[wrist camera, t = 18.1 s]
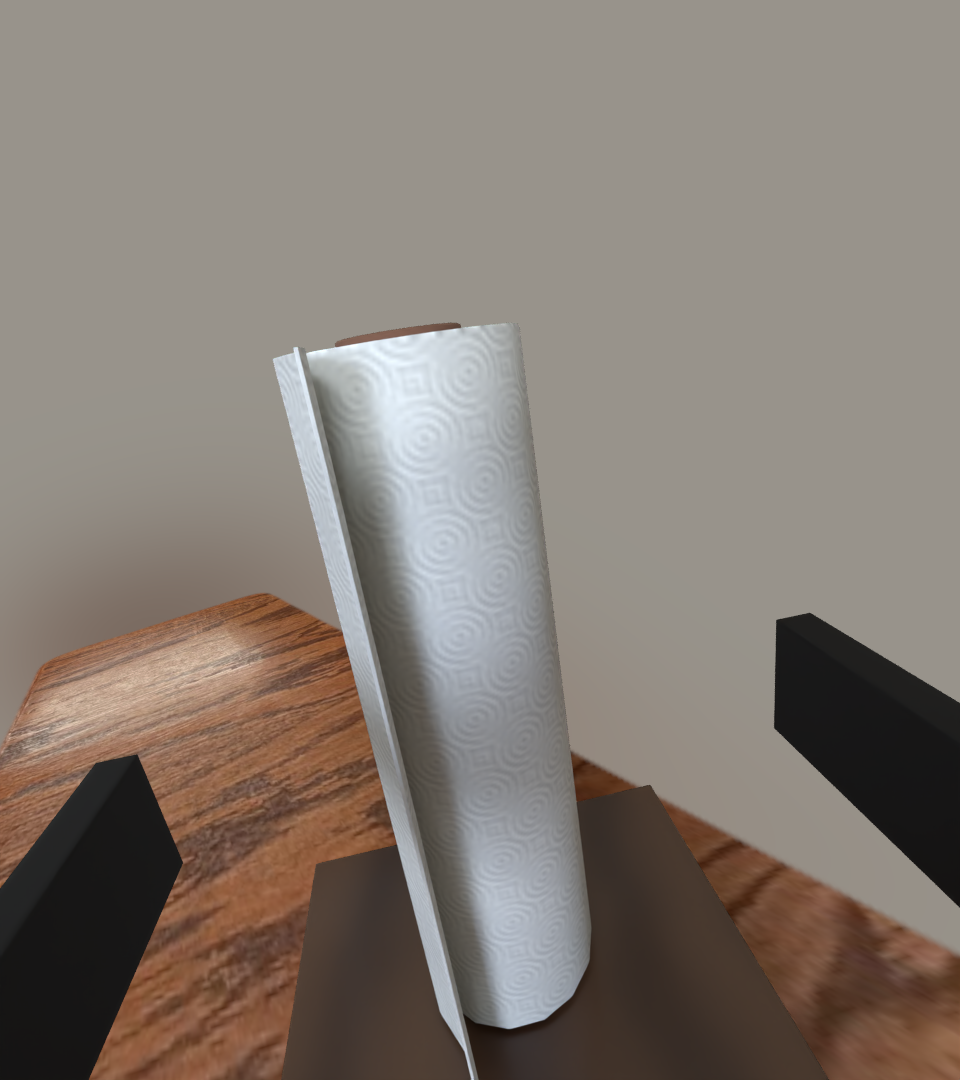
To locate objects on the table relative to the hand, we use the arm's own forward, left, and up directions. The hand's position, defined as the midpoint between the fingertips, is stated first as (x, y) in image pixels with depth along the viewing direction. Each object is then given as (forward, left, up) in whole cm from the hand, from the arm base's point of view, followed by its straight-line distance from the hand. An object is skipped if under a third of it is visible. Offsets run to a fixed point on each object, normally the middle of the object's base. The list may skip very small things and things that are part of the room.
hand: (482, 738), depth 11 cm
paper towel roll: (+1, -5, -13) cm, 14 cm away
